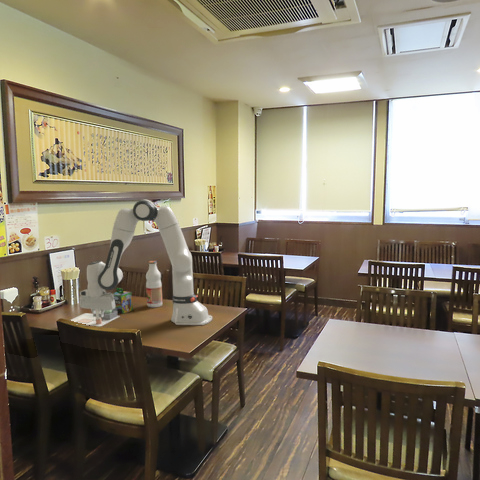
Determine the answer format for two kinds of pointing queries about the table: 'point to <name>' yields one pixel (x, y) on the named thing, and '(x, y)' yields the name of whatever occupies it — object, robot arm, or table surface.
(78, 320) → the board
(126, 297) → the chalk box
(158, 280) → the fruit juice
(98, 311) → the marker
